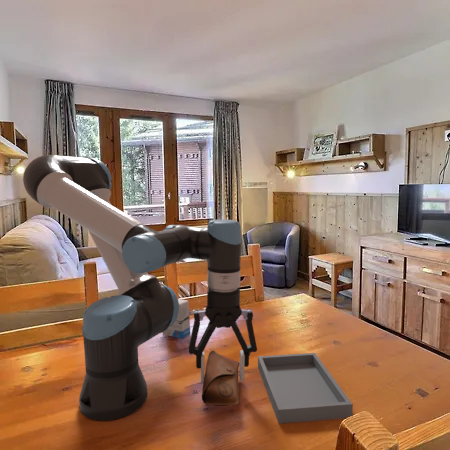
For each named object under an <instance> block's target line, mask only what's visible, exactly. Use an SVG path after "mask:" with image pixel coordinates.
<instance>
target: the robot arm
mask: <svg viewBox="0 0 450 450" xmlns="http://www.w3.org/2000/svg"><path fill="white" fill-rule="evenodd" d="M22 177H23V178H22V182H23V186H24V189H25V191H26V193H27V194H28V196H29V197H30V198H31V199H32V200H34V201H35V202H36V203H38V204H39V205H41V206H42V207H44V208H46V209H55V210H56V211H58V212H60V213H61V214H63V215H64V216H66V217H67V218H69V219H70V220H71V221H73V222H75V223H76V224H77V225H79V226H81V227H82V228H84V229H85V230H87V231H88V233H89V235H90V237H91V239H92V241H93V242H94V244H95V246H96V249H97V250H98V253H99V254H100V256H101V259H102V260H103V262H104V263H105V266H106V268H107V270H108V272H109V273H110V276H111V278H112V279H113V282H114V284H115V286H116V287H117V291H118V292H117V295H112V296H110V297H103V298H100V299H98V300H95V301H94V302H92V303H91V304H90V305H88V306H87V308H85V310H84V312H83V315H82V326H81V330H82V331H81V332H82V337H83V347H84V364H85V375H84V379H83V382H82V386H81V390H80V393H79V396H78V397H79V401H78V402H79V410H80V413H81V414H82V415H83V416H84V417H85V418H87V419H90V420H93V421H100V422H101V421H103V422H104V421H106V422H107V421H113V420H118V419H119V420H120V419H122V418H125V417H126V416H130V415H132V414H133V413H135V412H136V411H138V410H139V409H141V408H142V407H143V405H144V404H145V403H146V402H147V399H148V385H147V382H146V379H145V376H144V375H143V372H142V369H141V367H140V364H139V347H140V346H141V345H143V344H144V343H146V342H148V341H150V340H152V339H153V338H154V337H156V336H158V335H160V334H163V331H165V330H167V329H168V327H170V326H171V325H172V324H173V323H174V322H175V321H176V319H177V317H178V312H179V302H178V299H179V298H178V296H177V294H176V292H175V291H174V290H173V289H172V288H171V287H170V286H167V285H165V284H161V283H160V280H159V279H158V278H157V276H155V275H152V274H149V272H153V271H157V270H158V269H161V268H163V267H166V266H169V265H172V264H175V263H178V262H181V261H184V260H186V259H194V260H195V259H196V260H202V261H207V264H206V265H207V277H206V278H207V280H206V281H207V283H206V285H207V287H208V288H207V290H206V291H207V293H206V294H207V296H206V299H207V301H206V307H205V309H203V310H198V309H194V311H193V320H194V322H193V324H192V325H193V326H192V329H191V333H190V339H189V343H188V354H189V355H195V367H196V369H199V370H200V383H201V384H203V383H204V377H205V371H206V365H205V362H206V361H205V359H206V358H205V356H206V355H205V348H206V347H207V345H208V342H210V339H211V337H212V335H213V333H214V332H215V331H216V329H221V328H228V329H229V328H231V329H232V331H233V334H235V337H236V339H237V341H238V343H239V345H240V347H241V350H239V363H240V364H239V368H238V377H239V379H240V383H243V382H245V367H246V368H247V367H249V365H250V356H251V353H256V352H257V351H258V348H257V347H258V346H257V342H256V337H255V332H254V326H253V318H254V313H253V310H252V309H251V308H246V309H243V308H241V305H240V303H241V301H240V300H241V290H240V286H241V253H242V241H243V240H242V227H241V223H240V222H239V221H237V220H232V219H212V220H210V221H208V223H207V227H201V226H192V225H184V224H169V225H167V226H166V227H165V228H164V229H163V230H160V231H157V230H154V229H152V227H151V228H150V227H149V226H147V225H145V224H144V223H142V222H141V221H139V220H137V218H134V217H132V216H130V215H129V214H127V213H126V212H124V211H122V210H120V209H119V208H118V207H115V206H114V205H112V203H111V201H110V199H111V196H112V191H111V189H112V186H113V185H112V184H113V183H112V182H111V181H112V179H113V178H112V173H111V172H110V170H109V168H108V167H107V165H106V164H105V163H104V162H103V161H101V160H99V159H97V158H94V157H90V156H69V155H58V154H45V155H41V156H38V157H36V158H34V159H32V160H31V161H30V162H29V163H28V165H27V166H26V167H25V169H24V171H23V176H22ZM241 316H242V317H243V319H244V321H245V324H246V325H245V326H246V329H247V335H248V340H249V344H247V342H246V341H245V339H244V336H243V333H242V332H241V330H240V328H239V326H238V324H237V321H238V319H239V318H240V317H241ZM204 317H206V318H207V319H208V320H209V321H208V323H207V327H206V328H205V331H204V332H203V334H202V336H201V339H200V340H199V342H198V345H197V346H196V343H197V340H198V339H197V338H198V335H199V330H200V327H201V326H200V325H201V321H203V319H204Z"/></svg>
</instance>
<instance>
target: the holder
mask: <svg viewBox="0 0 450 450" xmlns="http://www.w3.org/2000/svg"><path fill="white" fill-rule="evenodd" d="M257 369H258V371H259V374H260V376H261V380H262V382H263V385H264V388H265V390H266V394H267V395H268V399H269V402H270V404H271V406H272V409H273V412H274V415H275V418H276V420H277V422H278V423H277V424H291V423H304V422H305V423H306V422H314V421H316V422H317V421H329V420H339V419H340V420H341V419H342V420H343V419H348V418H347V417H350V416H352V417H353V408H354V407H353V406H354V405H353V403H352V401H351V400H350V398H349V397H348V395H347V394H346V393H345V391H344V390H343V389H342V388H341V386H340V385H339V384H338V382H337V380H336V379H335V378H334V377H333V375H332V374H331V373H330V371H329V370H328V368H327V367H326V366H325V364H324V363H323V362H322V360H321V359H320V357H319V356H318V355H317V353H315V352H309V353H305V352H304V353H292V354H290V353H289V354H277V355H276V354H274V355H263V356H262V355H259V356H257Z"/></svg>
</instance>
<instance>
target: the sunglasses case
mask: <svg viewBox="0 0 450 450" xmlns="http://www.w3.org/2000/svg"><path fill="white" fill-rule="evenodd" d="M239 368H240V361H238V360H237V361H236V360H234V359H232V358H229V357H227V356H225V355H223V354H220V353H218V352H216V351H215V350H211V351H210V352H209V353H208V356H207V360H206V365H205V370H204V383H202V391H201V401H202V402H203V403H204V404H205V405H206V406H216V407H222V406H223V407H224V406H225V407H226V406H228V407H229V406H236V405H239V404H240V397H239V395H240V394H239Z"/></svg>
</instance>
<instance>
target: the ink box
mask: <svg viewBox="0 0 450 450" xmlns="http://www.w3.org/2000/svg"><path fill="white" fill-rule="evenodd" d="M178 302H179V312H178V317H177V319H176V321H175V322H174V323H173V324H172V325H171V326H170V327H168V329H167V330H165V331H163V332H162V335H166V336H169V337H173V338H176V339H180V340H183V339H184V338H186V337H187V336H189V335H191V321H190V320H191V318H190V302H189V300H187V299H182V298H178Z"/></svg>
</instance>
